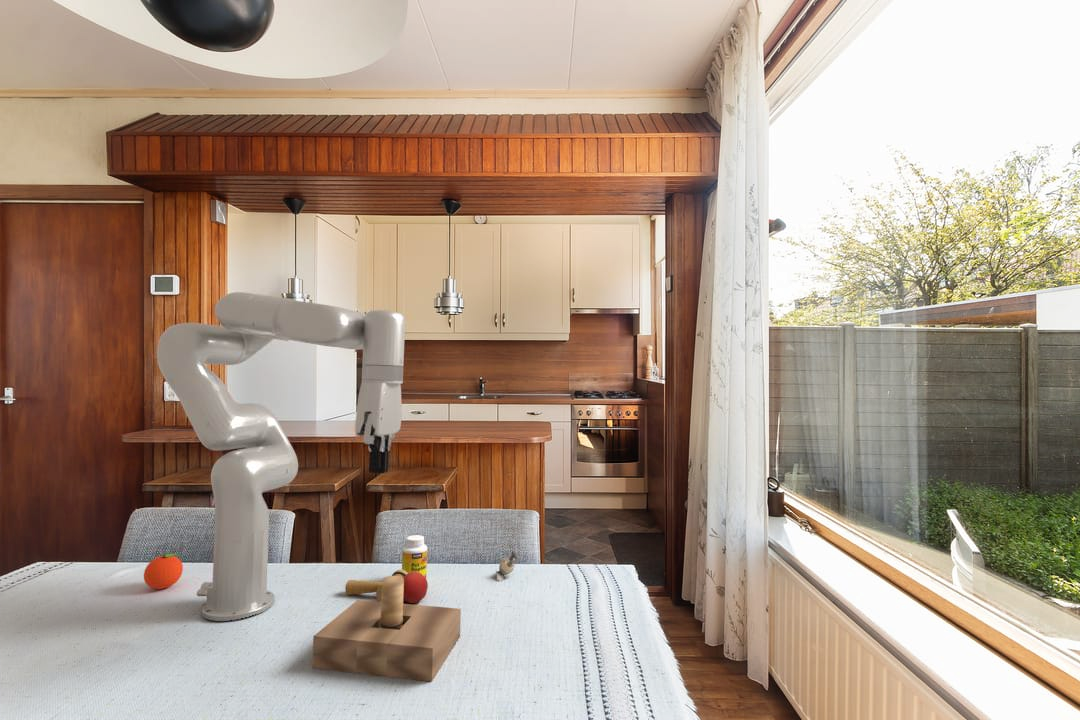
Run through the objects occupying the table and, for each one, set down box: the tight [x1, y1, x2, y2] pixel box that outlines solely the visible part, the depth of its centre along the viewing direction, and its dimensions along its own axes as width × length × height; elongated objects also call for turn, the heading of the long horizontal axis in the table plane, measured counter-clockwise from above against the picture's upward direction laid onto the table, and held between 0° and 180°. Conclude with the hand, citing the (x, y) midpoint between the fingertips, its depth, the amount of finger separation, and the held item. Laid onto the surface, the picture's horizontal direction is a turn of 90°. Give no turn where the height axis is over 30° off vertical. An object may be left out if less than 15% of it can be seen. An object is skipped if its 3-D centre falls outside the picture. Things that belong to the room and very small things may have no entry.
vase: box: [495, 551, 521, 582], centre depth 121 cm, size 5×5×6 cm
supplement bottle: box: [401, 534, 428, 579], centre depth 117 cm, size 6×6×10 cm
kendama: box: [344, 569, 429, 604], centre depth 108 cm, size 8×6×18 cm
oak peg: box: [380, 575, 404, 630], centre depth 87 cm, size 4×4×12 cm
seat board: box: [311, 599, 462, 682], centre depth 87 cm, size 20×14×5 cm
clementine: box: [143, 553, 185, 590], centre depth 112 cm, size 8×7×7 cm
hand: (378, 472), depth 97 cm, fingers closed
